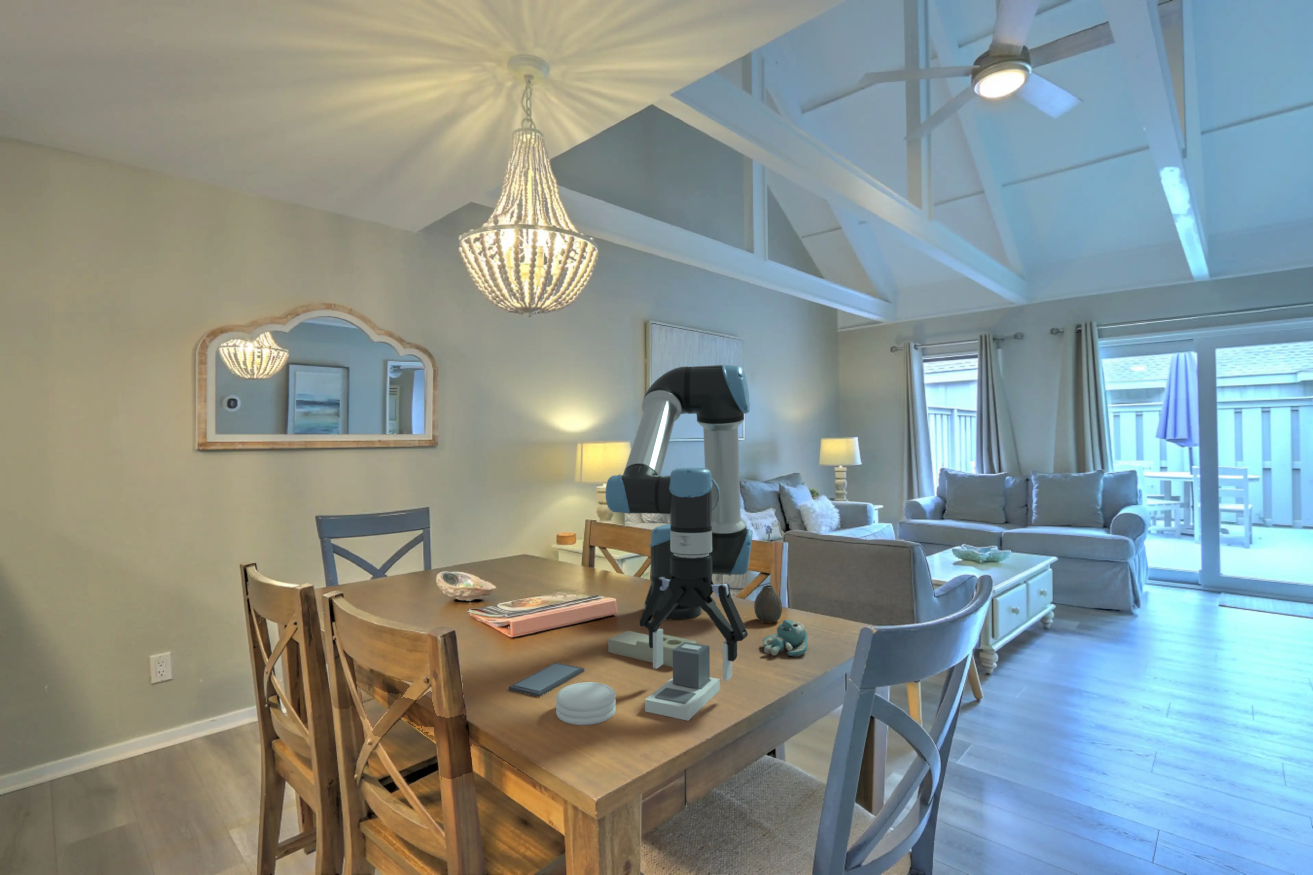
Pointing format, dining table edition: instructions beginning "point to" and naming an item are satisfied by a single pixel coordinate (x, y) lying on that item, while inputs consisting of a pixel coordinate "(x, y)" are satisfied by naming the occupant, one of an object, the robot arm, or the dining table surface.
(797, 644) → the stuffed animal
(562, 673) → the phone
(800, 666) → the dining table surface
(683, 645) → the block
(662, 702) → the plate
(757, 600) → the vase
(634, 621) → the dining table surface
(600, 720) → the coaster
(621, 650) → the electrical outlet
